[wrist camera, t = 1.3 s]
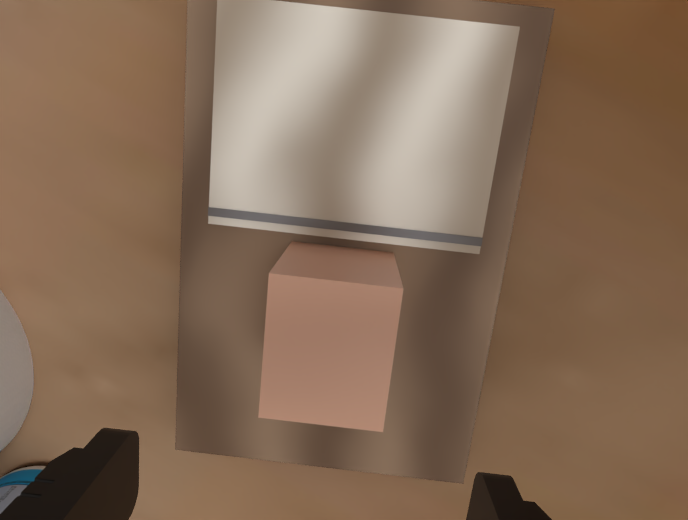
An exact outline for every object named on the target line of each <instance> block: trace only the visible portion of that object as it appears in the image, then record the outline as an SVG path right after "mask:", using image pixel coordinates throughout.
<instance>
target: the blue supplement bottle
mask: <svg viewBox="0 0 688 520" xmlns="http://www.w3.org/2000/svg"><path fill="white" fill-rule="evenodd" d="M45 467H46V466H30V467H24V468H20V469H17V470H14V471H12V472H10V473H8V474H6V475H4V476H3V477H1V478H0V514H1V513H2V512H3V510H4V509H5V508H6V507H7V506H8V505H9V504H10V503H11V502H12V501H13V500H14V499H15V498H16V497H17V496H20V495H21V492H22V491H23V490H24V489H25V488H26V487H27V486H28V485H29V484H30V482H31V481H32V482H34V480H35V477H36V476H37V475H38V474H39V473H40V472H41V471H42V470H43V469H44V468H45Z"/></svg>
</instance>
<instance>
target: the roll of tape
mask: <svg viewBox="0 0 688 520" xmlns="http://www.w3.org/2000/svg"><path fill="white" fill-rule="evenodd" d="M33 386H34V370H33V362H32V355H31V351H30V347H29V343H28V339H27V337H26V334H25V332H24V329H23V327H22V324H21V322H20V320H19V318H18V316H17V314H16V313H15V311H14V309H13V307H12V306H11V304H10V303H9V301H8V300H7V298H6V297H5V296H4V294H3V293H2V291H1V290H0V451H1V450H2V449H4V448H5V447H6V446H7V445H8V444H9V443H10V442H11V441H12V440H13V438H14V437H15V436H16V434H17V433H18V432H19V430H20V428H21V426H22V424H23V422H24V420H25V418H26V416H27V414H28V411H29V408H30V404H31V400H32V395H33Z"/></svg>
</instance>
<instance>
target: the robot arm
mask: <svg viewBox="0 0 688 520" xmlns="http://www.w3.org/2000/svg"><path fill="white" fill-rule="evenodd" d="M138 487H139V436H138V433H137V432H136V431H128V430H120V429H111V428H103V429H101V430H100V431H99V432H98V433H97V434H96V435H95V436H94V437H93V439H92V440H91V441H90V442H89V443H88V444H87V445H86V446H85V447H84V449H82V448H73V449H71V450H69V451H67V452H66V453H64V454H62V455H61V456H59V457H57V458H55V459H54V460H52V461H51V462H50V463H49V464H48V465H47V466H46V467H45V468H44V469H43V470H42V471H41V472H40V473H39V474H38V475H37V476H36V477H35V480H34V482H32V481H31V482H30V484H29V485H28V486H27V487H26V488H25V489H24V490H23V491H22V492H21V495H20V496H17V497H16V498H15V499H14V500H13V501H12V502H11V503H10V504H9V505H8V506H7V507H6V508H5V509H4V510H3V512H2V513H1V514H0V520H128V519H129V518H130V516H131V514H132V511H133V509H134V506H135V503H136V499H137V495H138ZM466 520H552V519H551V518H550V517H549V516H548V515H547V514H546V513H545V512H544V511H543V510H542V509H541V508H540V507H539V506H538V505H537V504H536V503H535V502H529V501H523V499H522V497H521V495H520V493H519V491H518V488H517V486H516V484H515V482H514V480H513V478H512V477H511V476H508V475H499V474H490V473H482V472H478V473H477V474H476V476H475V479H474V484H473V489H472V494H471V499H470V504H469V509H468V513H467V518H466Z"/></svg>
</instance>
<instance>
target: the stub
mask: <svg viewBox="0 0 688 520" xmlns="http://www.w3.org/2000/svg"><path fill="white" fill-rule="evenodd" d="M403 289H404V288H403V285H402V281H401V278H400V274H399V270H398V267H397V263H396V260H395V256H394V253H392V252H384V251H375V250H366V249H357V248H348V247H339V246H330V245H322V244H313V243H304V242H295V241H292V242H291V243H290V244H289V246H288V247H287V249H286V250H285V251H284V253H283V254H282V256H281V257H280V258H279V260H278V261H277V263H276V264H275V265H274V267H273V268H272V269H271V271H270V272H269V277H268V291H267V305H266V319H265V332H264V346H263V360H262V374H261V387H260V401H259V415H258V418H266V419H275V420H283V421H292V422H300V423H309V424H317V425H326V426H334V427H343V428H351V429H360V430H368V431H377V432H383V429H384V422H385V415H386V408H387V401H388V394H389V387H390V380H391V373H392V366H393V359H394V352H395V345H396V338H397V331H398V324H399V317H400V310H401V303H402V296H403Z"/></svg>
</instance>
